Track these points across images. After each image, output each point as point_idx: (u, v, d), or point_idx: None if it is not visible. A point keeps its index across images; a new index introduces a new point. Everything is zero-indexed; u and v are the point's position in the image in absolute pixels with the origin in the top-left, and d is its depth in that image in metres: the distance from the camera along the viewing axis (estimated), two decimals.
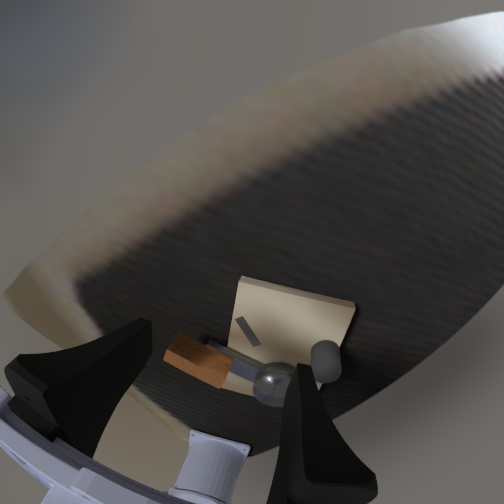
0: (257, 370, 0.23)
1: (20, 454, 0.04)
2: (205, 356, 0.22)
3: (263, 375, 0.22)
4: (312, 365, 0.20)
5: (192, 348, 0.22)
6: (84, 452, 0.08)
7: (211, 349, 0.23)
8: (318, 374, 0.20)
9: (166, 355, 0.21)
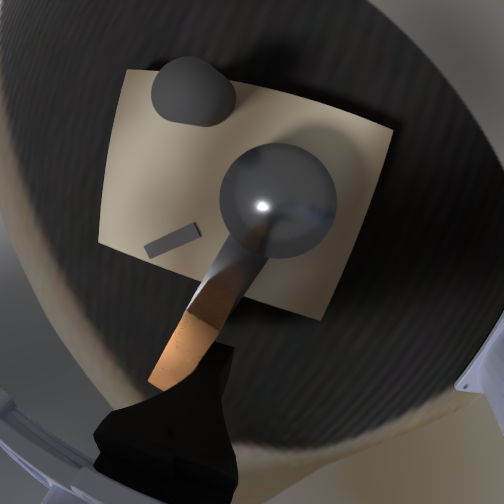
0: (234, 237, 0.11)
1: (20, 454, 0.04)
2: None
3: (229, 225, 0.10)
4: None
5: None
6: None
7: None
8: (187, 103, 0.08)
9: (161, 388, 0.12)
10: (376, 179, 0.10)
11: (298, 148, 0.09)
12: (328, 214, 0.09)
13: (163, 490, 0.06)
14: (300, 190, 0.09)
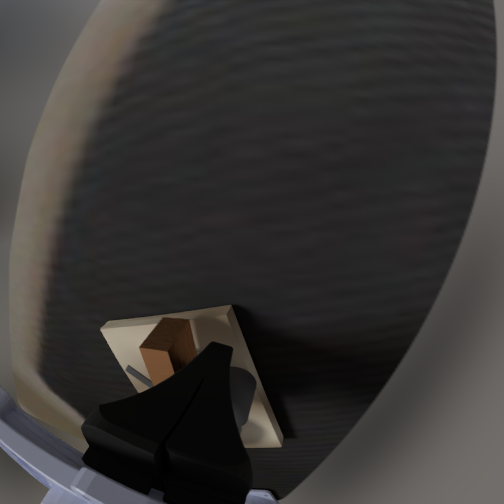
0: None
1: (20, 454, 0.04)
2: None
3: None
4: None
5: (188, 360, 0.13)
6: None
7: None
8: None
9: (153, 351, 0.11)
10: (253, 446, 0.18)
11: None
12: None
13: (176, 495, 0.06)
14: None
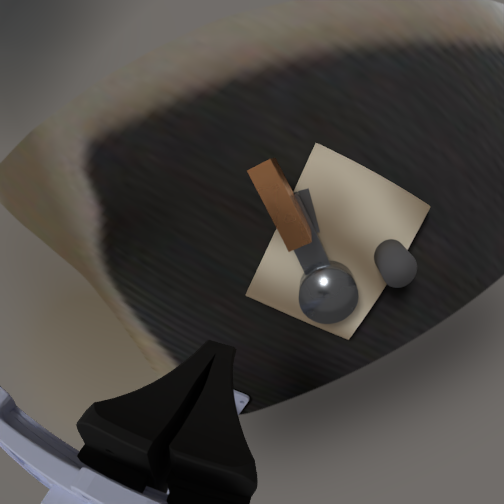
0: (324, 260, 0.18)
1: (20, 454, 0.04)
2: (295, 202, 0.16)
3: (333, 268, 0.18)
4: (387, 257, 0.16)
5: (286, 183, 0.16)
6: (162, 490, 0.07)
7: (296, 202, 0.18)
8: (391, 271, 0.16)
9: (259, 167, 0.15)
10: (325, 329, 0.21)
11: (343, 319, 0.19)
12: (309, 314, 0.19)
13: (180, 496, 0.06)
14: (326, 310, 0.19)
